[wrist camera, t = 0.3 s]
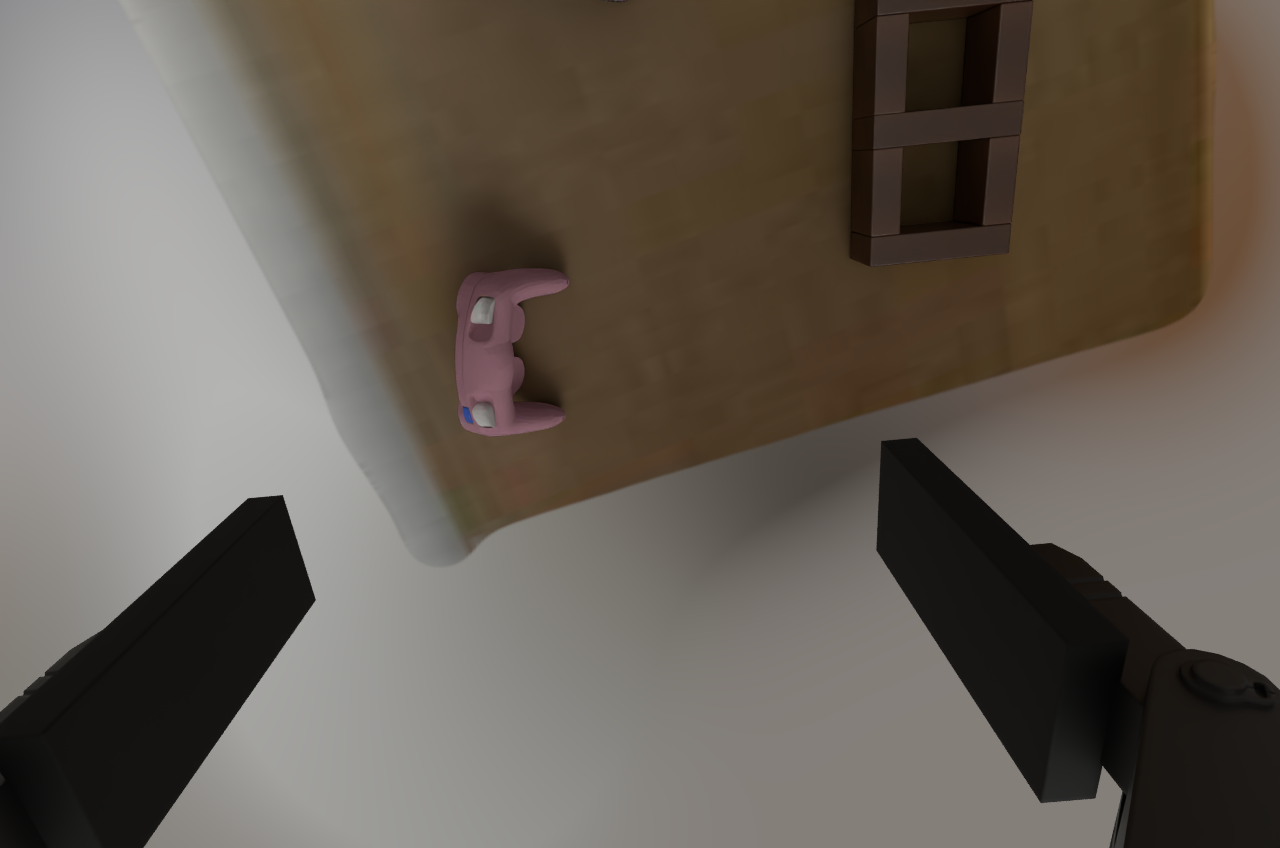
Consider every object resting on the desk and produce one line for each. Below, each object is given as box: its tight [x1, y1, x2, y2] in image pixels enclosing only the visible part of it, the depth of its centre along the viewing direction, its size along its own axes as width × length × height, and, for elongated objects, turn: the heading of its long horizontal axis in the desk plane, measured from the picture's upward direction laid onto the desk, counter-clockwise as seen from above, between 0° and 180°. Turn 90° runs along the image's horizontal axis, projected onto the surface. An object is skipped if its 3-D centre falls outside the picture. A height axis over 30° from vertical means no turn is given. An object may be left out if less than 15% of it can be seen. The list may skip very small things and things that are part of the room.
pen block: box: [850, 0, 1033, 267], centre depth 35 cm, size 20×8×4 cm, turn 5°
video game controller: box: [455, 268, 570, 436], centre depth 39 cm, size 10×5×7 cm, turn 176°
